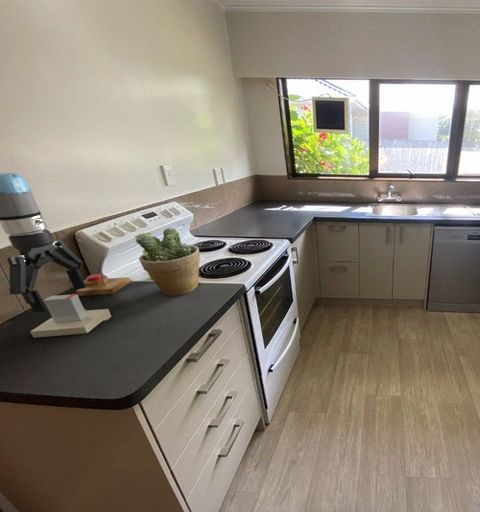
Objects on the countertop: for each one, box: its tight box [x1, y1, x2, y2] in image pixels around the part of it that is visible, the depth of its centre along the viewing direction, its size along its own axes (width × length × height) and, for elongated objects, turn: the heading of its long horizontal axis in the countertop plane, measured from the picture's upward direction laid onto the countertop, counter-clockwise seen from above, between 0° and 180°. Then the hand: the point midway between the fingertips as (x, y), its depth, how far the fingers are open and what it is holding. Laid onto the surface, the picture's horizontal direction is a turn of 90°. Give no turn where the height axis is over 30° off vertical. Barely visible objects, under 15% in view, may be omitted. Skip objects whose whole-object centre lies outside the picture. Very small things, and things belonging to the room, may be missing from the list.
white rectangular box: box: [42, 293, 87, 323], centre depth 88 cm, size 7×2×8 cm, turn 99°
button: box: [86, 273, 102, 282], centre depth 113 cm, size 4×4×2 cm
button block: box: [75, 274, 131, 297], centre depth 113 cm, size 12×10×4 cm
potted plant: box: [135, 227, 201, 297], centre depth 109 cm, size 18×19×25 cm
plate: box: [29, 308, 112, 339], centre depth 90 cm, size 14×11×3 cm
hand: (62, 299), depth 87 cm, fingers open, 13 cm apart
